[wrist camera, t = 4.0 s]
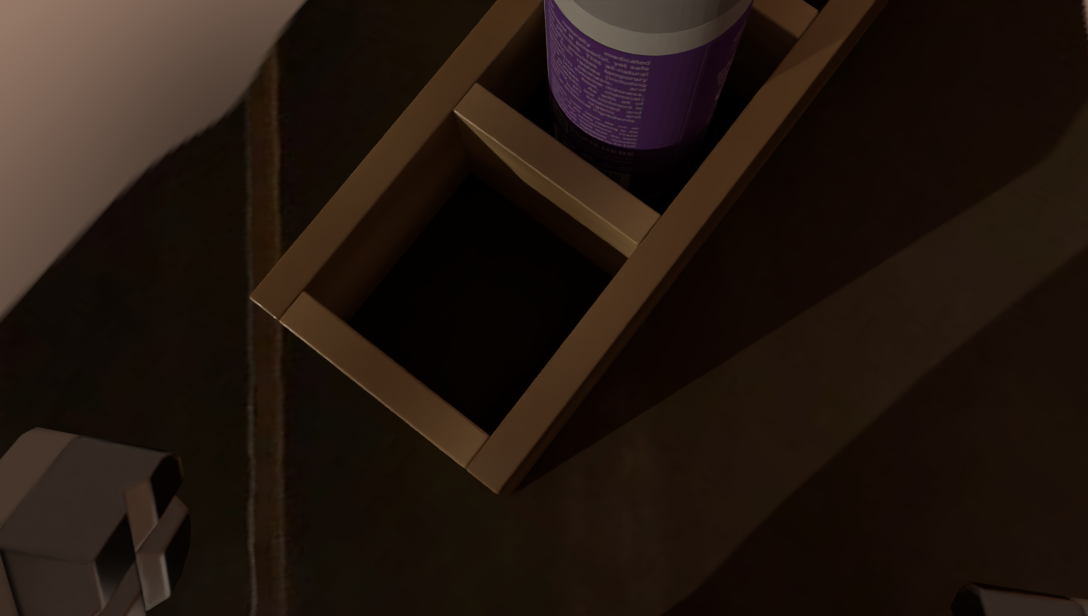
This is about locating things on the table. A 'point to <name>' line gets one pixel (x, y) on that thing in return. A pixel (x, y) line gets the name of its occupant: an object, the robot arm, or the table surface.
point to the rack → (538, 212)
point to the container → (639, 82)
